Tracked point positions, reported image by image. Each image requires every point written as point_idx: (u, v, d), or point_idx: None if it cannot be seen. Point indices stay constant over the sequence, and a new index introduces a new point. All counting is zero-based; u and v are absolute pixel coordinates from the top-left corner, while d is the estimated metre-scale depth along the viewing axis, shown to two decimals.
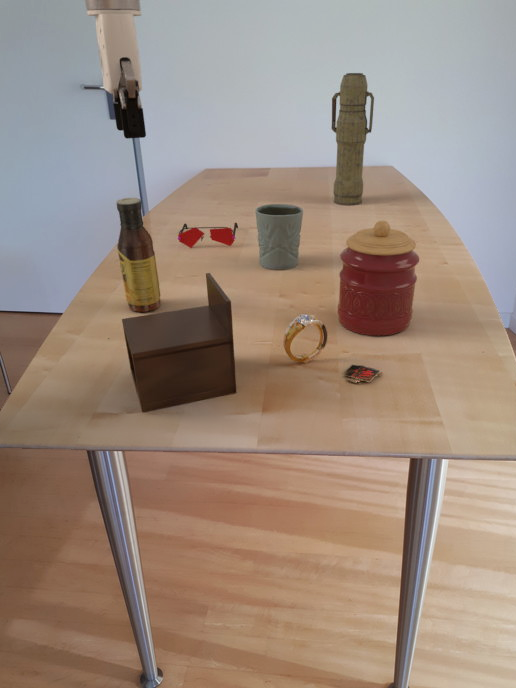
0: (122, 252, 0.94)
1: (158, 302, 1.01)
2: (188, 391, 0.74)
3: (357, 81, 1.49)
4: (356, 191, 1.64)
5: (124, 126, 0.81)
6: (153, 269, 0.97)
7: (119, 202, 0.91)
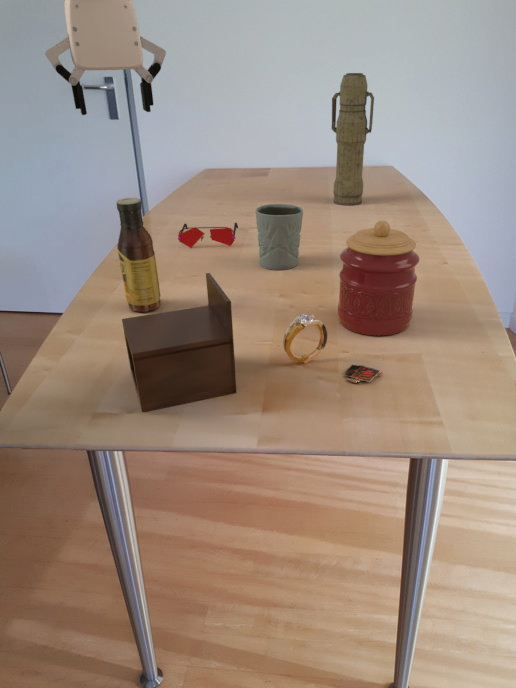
0: (122, 252, 0.94)
1: (158, 302, 1.01)
2: (188, 391, 0.74)
3: (357, 81, 1.49)
4: (356, 191, 1.64)
5: None
6: (153, 269, 0.97)
7: (119, 202, 0.91)
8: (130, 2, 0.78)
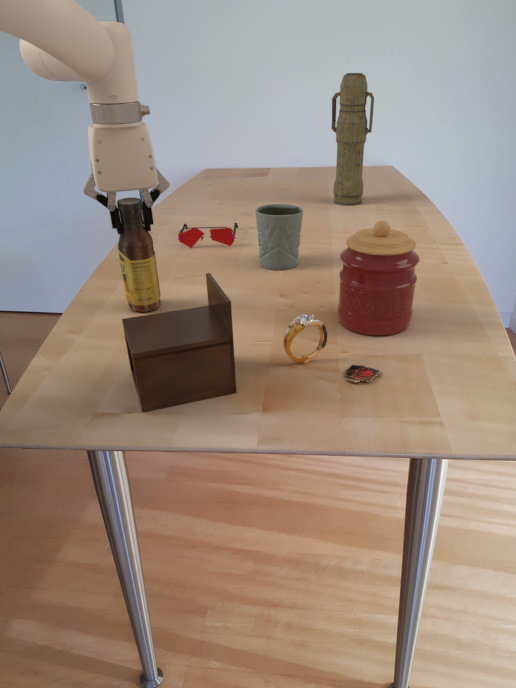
0: (123, 252, 0.94)
1: (158, 302, 1.01)
2: (188, 391, 0.74)
3: (357, 81, 1.49)
4: (356, 191, 1.64)
5: None
6: (153, 269, 0.97)
7: (120, 202, 0.91)
8: (147, 135, 0.87)
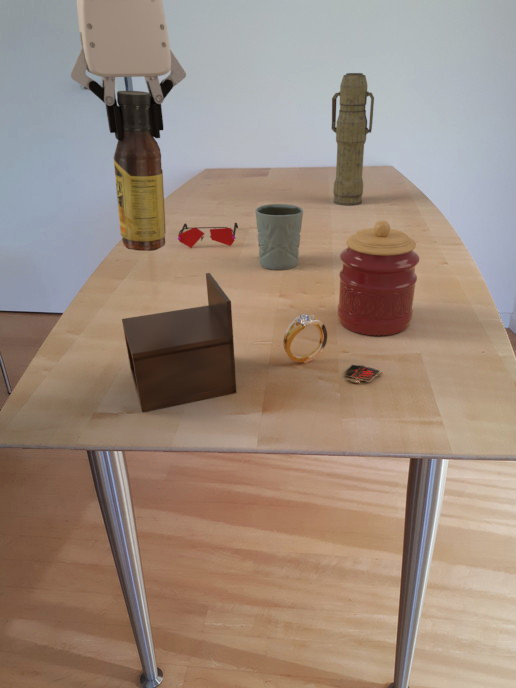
0: (121, 164, 0.70)
1: (162, 240, 0.77)
2: (188, 391, 0.74)
3: (357, 81, 1.49)
4: (356, 191, 1.64)
5: None
6: (160, 193, 0.74)
7: (121, 92, 0.67)
8: None
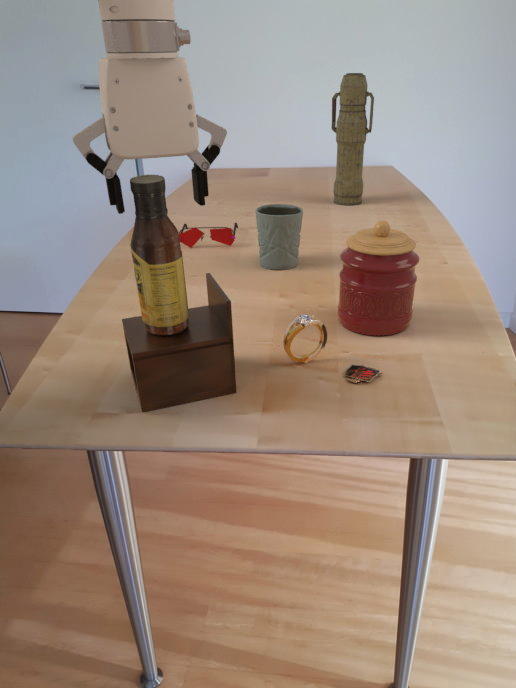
0: (138, 253, 0.66)
1: (186, 321, 0.73)
2: (188, 391, 0.74)
3: (357, 81, 1.49)
4: (356, 191, 1.64)
5: None
6: (180, 277, 0.69)
7: (134, 180, 0.63)
8: (186, 73, 0.59)
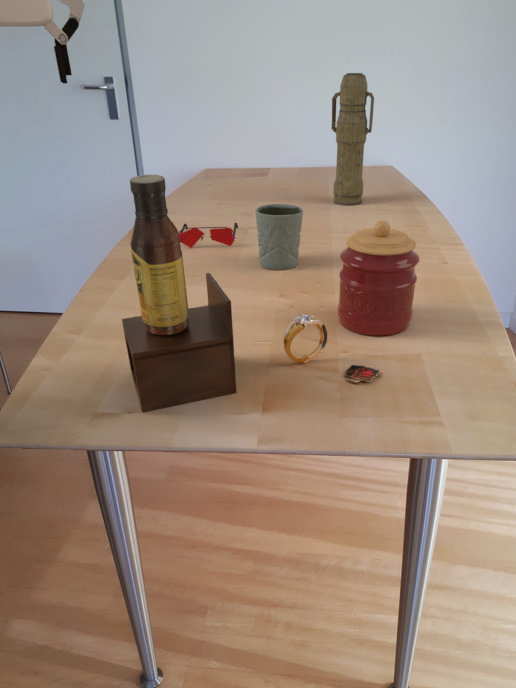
0: (138, 253, 0.66)
1: (186, 321, 0.73)
2: (188, 391, 0.74)
3: (357, 81, 1.49)
4: (356, 191, 1.64)
5: None
6: (180, 277, 0.69)
7: (134, 180, 0.63)
8: None
